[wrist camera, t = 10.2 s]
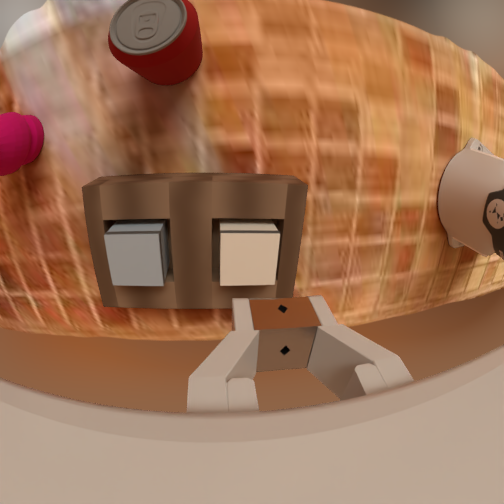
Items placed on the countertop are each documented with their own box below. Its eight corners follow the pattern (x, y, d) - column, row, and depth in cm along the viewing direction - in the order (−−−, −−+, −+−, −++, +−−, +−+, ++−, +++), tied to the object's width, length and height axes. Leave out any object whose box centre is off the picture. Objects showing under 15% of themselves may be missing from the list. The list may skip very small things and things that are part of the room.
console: (293, 175, 30) (307, 185, 26) (281, 283, 36) (290, 306, 32) (100, 177, 27) (82, 187, 23) (114, 284, 33) (103, 306, 29)
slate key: (167, 216, 28) (159, 233, 24) (170, 262, 31) (163, 286, 26) (119, 217, 27) (103, 234, 23) (124, 262, 30) (112, 285, 25)
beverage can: (205, 30, 22) (201, -21, 11) (201, 85, 25) (193, 58, 14) (143, 35, 21) (107, -8, 10) (138, 89, 24) (95, 71, 13)
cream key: (270, 216, 30) (280, 233, 25) (266, 261, 32) (275, 285, 28) (218, 215, 29) (220, 233, 25) (218, 262, 31) (219, 286, 27)
